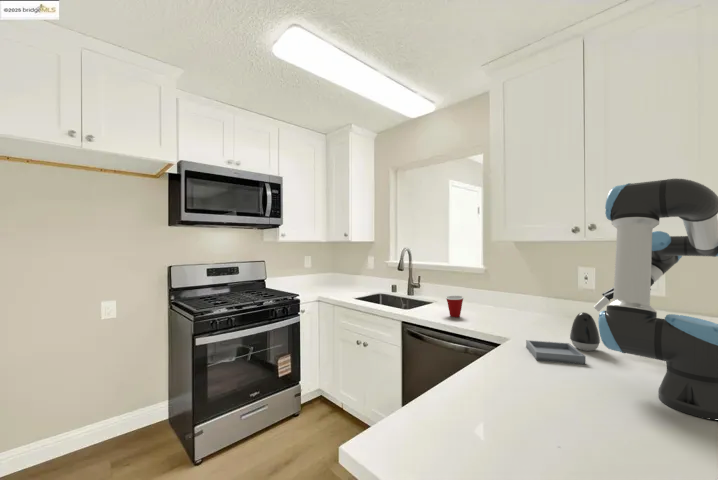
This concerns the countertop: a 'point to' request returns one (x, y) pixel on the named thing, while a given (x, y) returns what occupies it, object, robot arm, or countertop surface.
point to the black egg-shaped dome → (584, 333)
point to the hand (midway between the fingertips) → (606, 312)
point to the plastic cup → (454, 305)
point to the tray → (555, 352)
